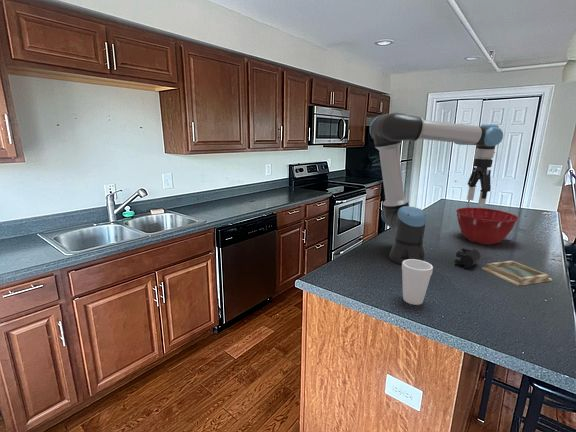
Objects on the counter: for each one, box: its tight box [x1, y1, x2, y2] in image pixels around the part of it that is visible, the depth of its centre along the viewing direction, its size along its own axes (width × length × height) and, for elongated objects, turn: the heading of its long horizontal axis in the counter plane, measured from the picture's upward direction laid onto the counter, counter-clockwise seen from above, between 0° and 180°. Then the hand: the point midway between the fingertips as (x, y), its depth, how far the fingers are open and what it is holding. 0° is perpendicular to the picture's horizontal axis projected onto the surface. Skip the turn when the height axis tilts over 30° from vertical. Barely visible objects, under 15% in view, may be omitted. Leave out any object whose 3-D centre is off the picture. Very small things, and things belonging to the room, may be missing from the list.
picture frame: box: [481, 260, 553, 287], centre depth 130 cm, size 18×16×2 cm
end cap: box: [454, 247, 481, 270], centre depth 138 cm, size 10×7×7 cm
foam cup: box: [401, 259, 434, 306], centre depth 107 cm, size 10×9×13 cm
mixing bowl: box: [455, 207, 519, 246], centre depth 171 cm, size 28×28×16 cm
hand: (475, 202), depth 155 cm, fingers open, 13 cm apart
